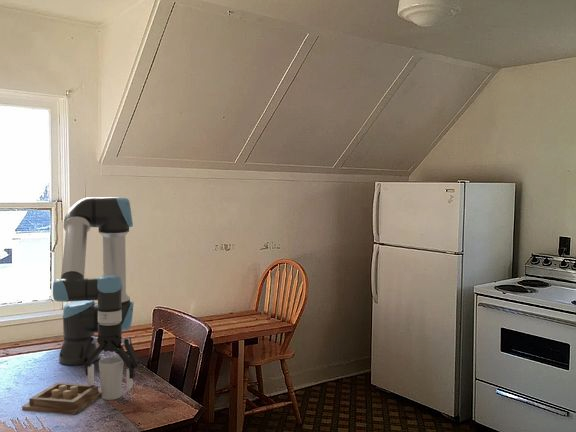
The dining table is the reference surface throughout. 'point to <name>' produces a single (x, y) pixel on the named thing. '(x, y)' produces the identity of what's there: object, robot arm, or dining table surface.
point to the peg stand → (63, 398)
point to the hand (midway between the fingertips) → (110, 386)
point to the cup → (111, 377)
